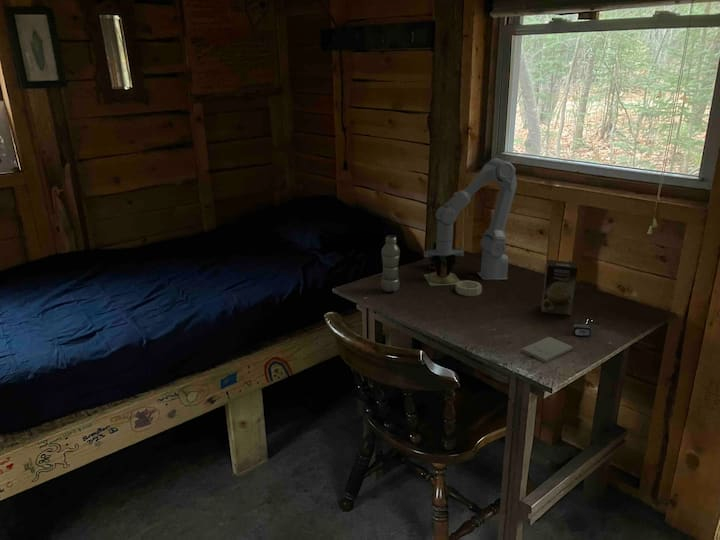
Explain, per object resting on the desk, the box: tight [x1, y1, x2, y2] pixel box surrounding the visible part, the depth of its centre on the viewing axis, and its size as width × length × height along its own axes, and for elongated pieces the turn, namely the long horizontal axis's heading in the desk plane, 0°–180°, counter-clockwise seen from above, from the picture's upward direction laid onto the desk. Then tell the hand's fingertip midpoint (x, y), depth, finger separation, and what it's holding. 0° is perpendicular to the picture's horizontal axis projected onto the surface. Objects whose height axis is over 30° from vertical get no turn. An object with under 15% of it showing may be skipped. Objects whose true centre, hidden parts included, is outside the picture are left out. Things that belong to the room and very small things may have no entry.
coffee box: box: [540, 259, 578, 316], centre depth 181 cm, size 9×6×16 cm
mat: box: [422, 272, 461, 287], centre depth 209 cm, size 12×12×1 cm
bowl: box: [455, 280, 483, 297], centre depth 197 cm, size 8×8×3 cm
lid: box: [428, 263, 458, 284], centre depth 208 cm, size 10×10×6 cm
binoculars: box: [428, 241, 457, 272], centre depth 220 cm, size 9×11×10 cm
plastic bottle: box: [380, 234, 401, 293], centre depth 196 cm, size 6×7×20 cm
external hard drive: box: [520, 336, 574, 364], centre depth 156 cm, size 2×8×12 cm
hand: (442, 274), depth 208 cm, fingers closed on lid, 3 cm apart
